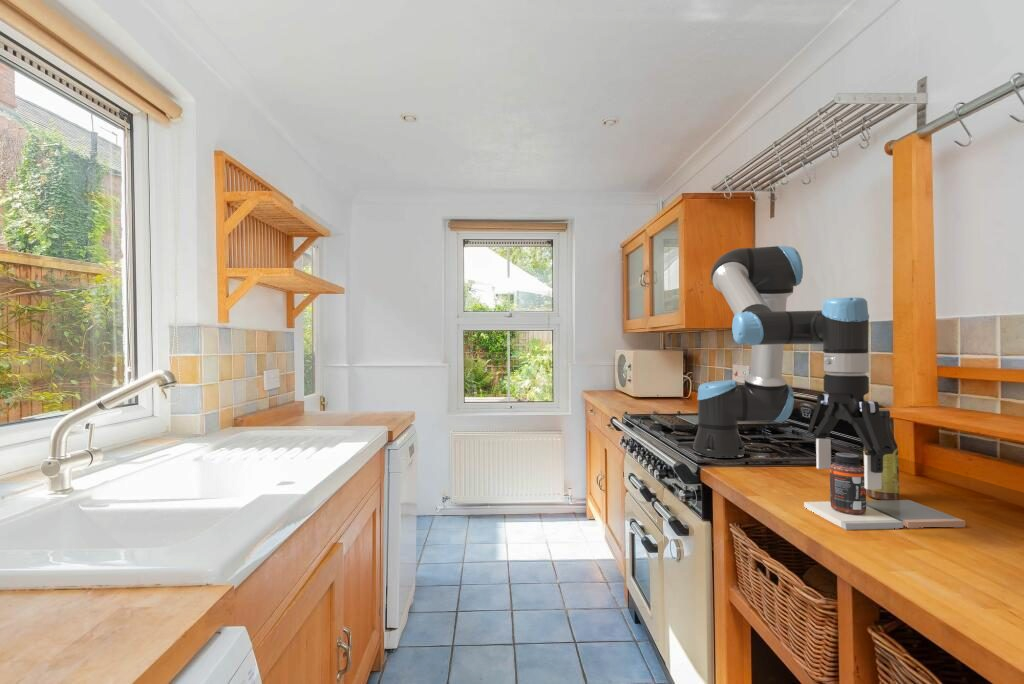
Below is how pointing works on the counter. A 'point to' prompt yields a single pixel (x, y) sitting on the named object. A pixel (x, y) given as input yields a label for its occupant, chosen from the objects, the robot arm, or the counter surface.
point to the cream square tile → (854, 517)
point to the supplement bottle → (847, 484)
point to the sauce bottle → (887, 467)
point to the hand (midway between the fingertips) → (846, 478)
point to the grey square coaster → (914, 514)
